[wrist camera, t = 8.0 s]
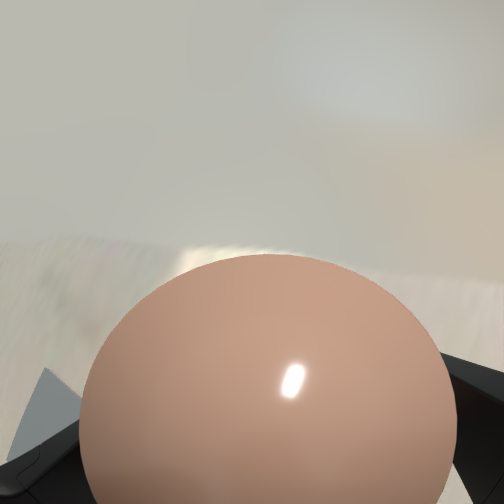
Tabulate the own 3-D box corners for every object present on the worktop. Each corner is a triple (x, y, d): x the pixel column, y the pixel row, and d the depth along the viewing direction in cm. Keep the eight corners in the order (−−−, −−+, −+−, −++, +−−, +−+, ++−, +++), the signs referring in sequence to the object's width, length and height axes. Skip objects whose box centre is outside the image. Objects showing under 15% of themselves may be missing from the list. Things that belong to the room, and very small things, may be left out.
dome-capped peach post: (271, 491, 13) (214, 636, 1) (215, 419, 16) (38, 369, 4) (351, 434, 14) (512, 430, 3) (292, 365, 17) (294, 199, 5)
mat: (74, 526, 12) (71, 527, 12) (9, 460, 14) (6, 459, 14) (120, 428, 16) (117, 428, 16) (48, 368, 19) (44, 367, 18)
